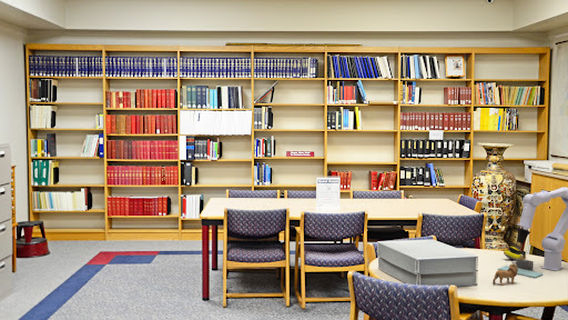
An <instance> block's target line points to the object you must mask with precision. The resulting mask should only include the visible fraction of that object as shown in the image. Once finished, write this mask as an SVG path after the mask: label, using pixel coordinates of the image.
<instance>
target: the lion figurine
mask: <svg viewBox="0 0 568 320" xmlns="http://www.w3.org/2000/svg"><path fill="white" fill-rule="evenodd" d="M508 266H510V267H509V269H508V270H507V271H502V270H497V271H496V272H495V274H494V277H493V279H492V285H495V284H496V280H498V279H499V283H500V285H501V286H505V283H503V280H504V279H506V283H509V284H510V283H511V284H512V285H515V283H514V280H515V278H516V277H517V275H518V274H517V272H518V267H517V265H516V264H512V263H511V264H509V265H508ZM510 280H511V282H510Z"/></svg>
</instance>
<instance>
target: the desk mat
mask: <svg viewBox="0 0 568 320" xmlns="http://www.w3.org/2000/svg"><path fill="white" fill-rule="evenodd" d="M509 267H510V266H509V265H503V266H501V267H498V268H497V271H499V270H502V271H507V270H508V269H509ZM517 275H519V276H524V277H527V278H531V277H532V279H538V278H539V277H541V276H543V275H544V273H543V272H538V271H534V270H533V271H529V270H525V269H520V268H518V272H517Z"/></svg>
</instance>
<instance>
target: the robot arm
mask: <svg viewBox="0 0 568 320" xmlns="http://www.w3.org/2000/svg"><path fill="white" fill-rule="evenodd" d="M555 198H561V200H562V202H563V203H564V204H565V206H566V207H565V208H564V210H563V212H562V214H561V216H560V218H559V220H558V221H557V223H556V225H555V227H554V229H553V231H552V232H550V233H547V234H546V236H545V237H544V238H543V239H542V241H541V247H542V249H543V251H544V260H543V265H542V266H540V268H541V269H545V270H549V271H556V272H557V271H560V270H561V269H563V268H564V266H562V262H563V255H562V252H563V251H564V247H565V244H566V239H565V238H564V237H565V235H566V232H567V231H568V187H566V186H563V187H560V188H558V189H557V188H556V189H554V190H552V191H547V190H544V189H542V190H541V191H540V192H533V193H527V194H526V195H524V197H522V201H523V204H522V206H523V208H522V211H521V216H520V219H519V223H516V225H517V226H519V227H520V228H518V227H517V228H516V230H517V243H519V244H522V245H524V243H525V242H526V239H527V238H528V236H529V235H530V233H532V231H529V230H528V229H532V224H533V220H534V217H535V214H536V213H535V212H536V210H537V207H539V206H540V205H541V204H544V203H548V202H550V201H551V199H555Z"/></svg>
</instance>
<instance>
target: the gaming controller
mask: <svg viewBox="0 0 568 320" xmlns="http://www.w3.org/2000/svg"><path fill="white" fill-rule="evenodd" d="M503 255H504V256H505V257H506V258H508V259H509V260H512V261H516V259H524V260H526V257H527V251H525V250H524V251H522V250H520V249H518V248H516V247H514V246H512V245H511V246H508V250H504V251H503Z"/></svg>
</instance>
